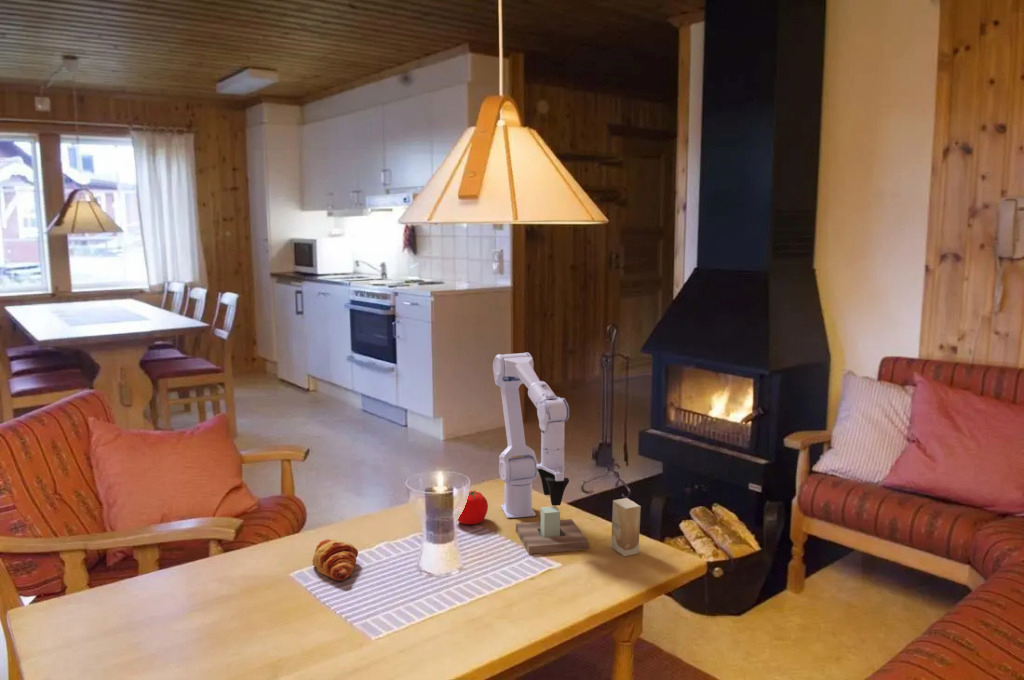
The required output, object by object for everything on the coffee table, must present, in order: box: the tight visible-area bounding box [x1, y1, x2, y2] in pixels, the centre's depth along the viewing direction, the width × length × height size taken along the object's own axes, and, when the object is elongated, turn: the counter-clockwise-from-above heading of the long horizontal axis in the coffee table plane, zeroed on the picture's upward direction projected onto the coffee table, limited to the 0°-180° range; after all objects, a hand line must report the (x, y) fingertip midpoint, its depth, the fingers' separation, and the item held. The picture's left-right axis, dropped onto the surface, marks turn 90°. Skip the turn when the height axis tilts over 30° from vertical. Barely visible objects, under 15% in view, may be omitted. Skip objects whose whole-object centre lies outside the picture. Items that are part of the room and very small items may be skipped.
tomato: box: [457, 490, 489, 526], centre depth 209 cm, size 9×10×8 cm
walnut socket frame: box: [515, 518, 590, 555], centre depth 197 cm, size 15×15×2 cm
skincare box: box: [610, 497, 642, 557], centre depth 190 cm, size 6×4×12 cm
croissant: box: [312, 538, 359, 582], centre depth 182 cm, size 21×10×8 cm, turn 24°
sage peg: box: [540, 506, 561, 538], centre depth 197 cm, size 4×4×8 cm
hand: (552, 499), depth 196 cm, fingers open, 7 cm apart
